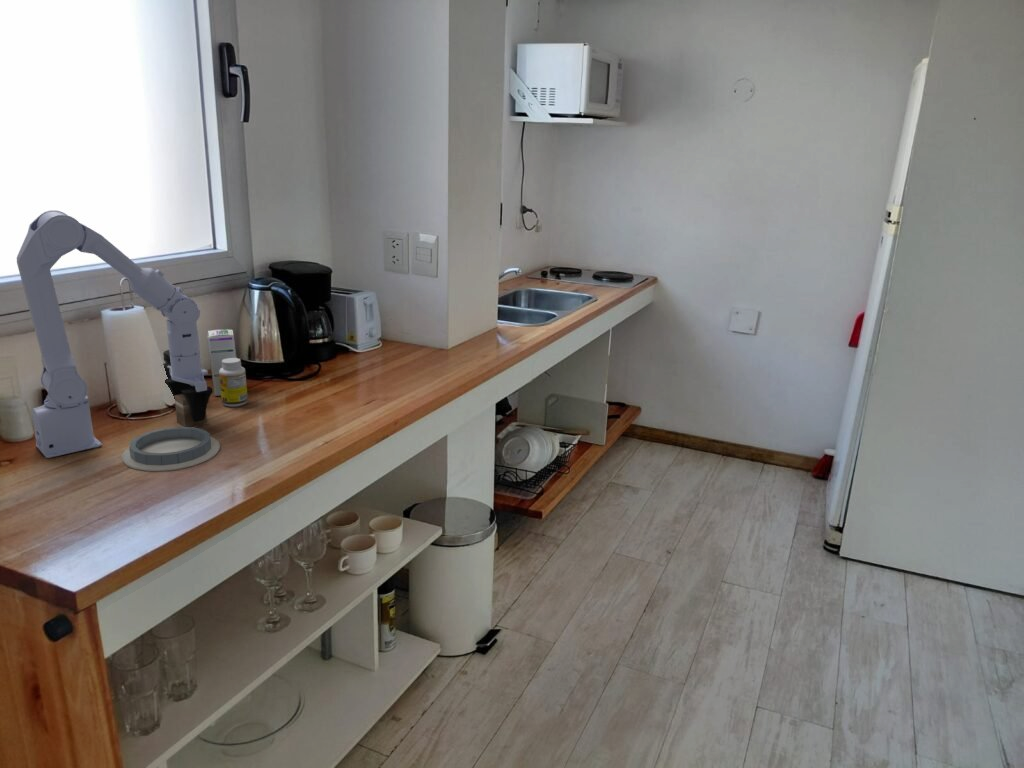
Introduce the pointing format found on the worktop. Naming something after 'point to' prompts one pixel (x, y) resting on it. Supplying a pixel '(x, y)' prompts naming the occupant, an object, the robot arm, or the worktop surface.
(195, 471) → the worktop surface
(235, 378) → the supplement bottle
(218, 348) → the syrup box
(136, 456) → the round tray
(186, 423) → the walnut bead block
